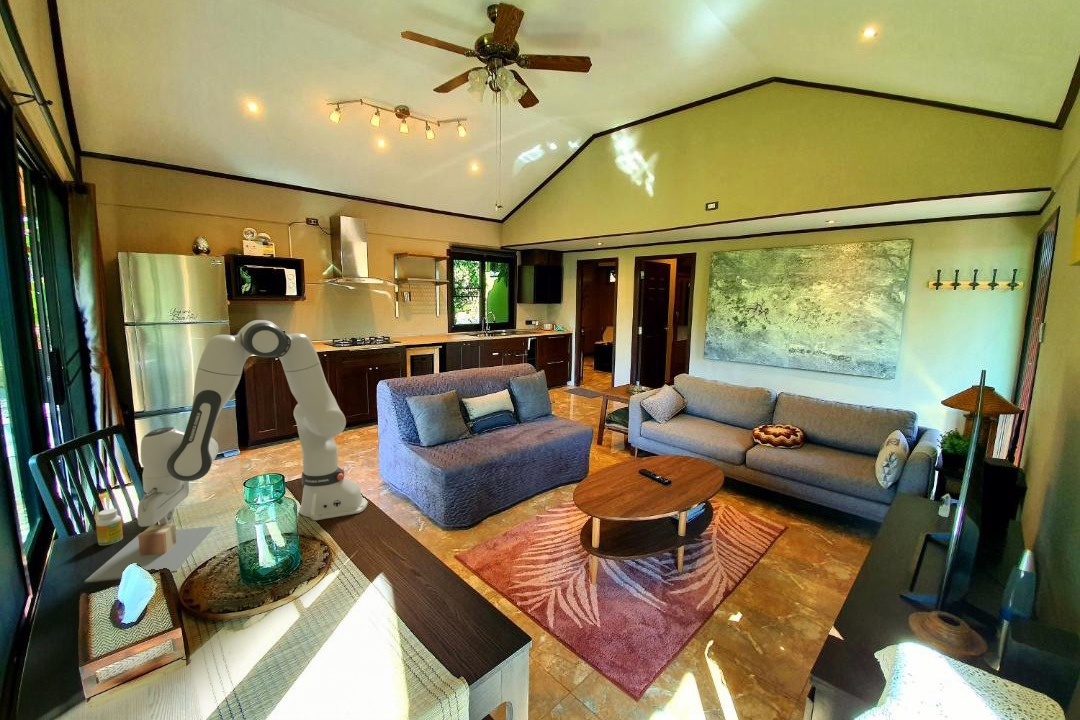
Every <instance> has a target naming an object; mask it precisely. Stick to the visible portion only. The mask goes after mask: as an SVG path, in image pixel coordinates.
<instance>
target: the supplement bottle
mask: <svg viewBox="0 0 1080 720" xmlns="http://www.w3.org/2000/svg"><path fill="white" fill-rule="evenodd" d="M95 523H96V524H95V528H96V536H97V544H98V545H99V546H108V545H112V544H116V543H118V542H119V541H122V540H123V538H124V534H123V524H122V523H123V522H122V516H120V515H118V509H117V508H105V509H103V510H101V511H99V512H98V520H96V522H95Z"/></svg>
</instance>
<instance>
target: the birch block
mask: <svg viewBox="0 0 1080 720" xmlns="http://www.w3.org/2000/svg"><path fill="white" fill-rule="evenodd" d="M175 530H176V523H171V524H161V525H160V524H155V525H153V526H147V528H146V529H145V530H143V532H140V533H141V534H140V533H139V534H140V535H139V534H138V535H139V536H138V535H137V536H138V539H139V550H140V555H152V554H163V553H166V552H167V551H168V550H169V549H170V548H171V547H172V546H173V545H174V544H175V543H176V531H175Z"/></svg>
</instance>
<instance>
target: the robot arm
mask: <svg viewBox="0 0 1080 720" xmlns="http://www.w3.org/2000/svg"><path fill="white" fill-rule="evenodd" d="M253 355H254V356H255V357H261V358H278V359H279V361H280V362H281V366H282V369H283V372H284V375H285V377H286V380H287V381H286V382H287V383H288V387H289V390H290V392H291V394H292V396H293V397H294V398H295V400H296V402H297V404H296V405H295V407H294V409H293V417H294V420H295V422H296V423H295V424H296V428H297V433H298V436H299V442H300V445H301V446H300V447H301V453H302V454H301V455H302V470H303V471H302V473H301V485H302V487H301V488H302V498H301V503H300V508H299V510H298V512H299V514H300V515H302V516H304V517H308V518H310V519H311V520H313V521H319V520H325V519H332V518H337V517H344V516H350V515H354V514H360V513H362V512H363V511H364V510H366V508H367V506H368V504H369V498H368V496H367V495H366V494H365V493H362V491H361V488H360V486H359V484H358V483H356V482H355V481H353V480H351V479H349V478H347V477H345V467H342V468H341V467H339V463H338V462H339V461H338V458H339V457H338V456H339V455H338V446H337V443H336V441H335V438H334V437H336V436H339V435H340V434H342V433H343V431H344V430H345V428H346V425H347V419H346V417H345V414H344V412H343V411H342V410H341V408H340V406H339V405H338V402H337V399H336V398H335V396H334V394H333V393H332V391H331V388H330V386H329V385H328V382H327V380H326V377H325V374H324V370H323V367H322V364H321V361H320V358H319V355H318V352H317V350H316V348H315V346H314V345H313V342H312V341H311V338H310V337H309V336H308V335H306V334H304V333H300V332H297V333H296V332H293V333H290V334H287V333H286V332H284V331H283V330H282V329H281V328H280V327H279V326H278V325H276V324H275V323H274V322H272V321H270V320H267V319H264V318H255V319H251V320H249V321H247V322H245V323H244V324H243V325H242V326H241V327H240V328H239V329H237V330H236V331H235V332H234V333H233V335H231V334H218V335H214V336H212V337H210V339H209V340H208V342H207V344H206V345H205V348H204V350H203V352H202V354H201V357H200V360H199V362H198V366H197V368H196V373H195V374H196V375H195V379H194V386H193V387H194V388H193V396H192V405H191V411H190V413H189V417H188V421H187V424H186V428H185V430H184V431H182V430H179V429H177V428H176V427H173V426H165V427H160V428H157V429H154V430H152V431H149V432H147V433H146V434H145V435H144V436H143V437H142V439H141V443H140V462H141V464H142V466H143V470H142V486H143V487H142V489H143V492H144V493H145V494H144V495H142V496H143V497H142V499H141V500H140V501H139V502H138V505H137V525H138V526H139V527H142V528H143V527H144V528H145V527H150V526H153V525H157V523H159V525H161V524H173V517H174V512H175V508H176V507H177V506H179V504H181V503H182V502H183V501H184V500H186V499H187V497H188V495H189V493H190V482H194V481H197V480H201V478H203V477H205V476H206V475H208V473H209V472H210V470H211V468H212V465H213V463H214V461H215V459H216V457H217V455H218V453H219V450H220V445H219V443H218V441H217V440H216V439H215V437H213V436H212V435H213V433H214V429H215V425H216V422H217V419H218V417H219V415H220V413H221V411H222V410H223V408H224V407H225V406H226V404H227V403H228V402H229V401H230V399H231V398H232V396H233V395H234V393H235V391H236V390H237V388H238V385H239V384H240V380H241V377H242V374H243V370H244V365H245V364H246V362H247V360H248V358H250V357H251V356H253ZM361 494H362V495H363V496H364V497H366V498H367V499H368V501H367V500H366V499H365V498H363V497H362V495H361Z"/></svg>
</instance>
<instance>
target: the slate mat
mask: <svg viewBox="0 0 1080 720" xmlns="http://www.w3.org/2000/svg"><path fill="white" fill-rule="evenodd" d="M215 528H216V526H204V527H193V528H192V527H191V528H182V529H181V528H180V529H175V531H176V543H175V544H174V545H173V546H172V547H171V548H170V549H169V550H168V551H167V552H166V553H163V554H152V555H140V550H139V539H138V536H139V535H140V534H141V533H142V532H140V533H139V534H138V535H136V536H135V537H134V538H133V539H132V540H131V541H130V542H128V543H127V544H126V545H124V547H123V548H121V549H120V550H119V551H118V552H117V553H116V554H114V555H112V557H110V559H108V560H107V561H106V562H105V563H104V564H103V565H101V566H100V567H99V568H98V569H97V570H95V571H94V572H93V573H92V574H91V575H89V577H87V578H86V579H85V580H84V583H91V582H92V583H93V582H94V583H95V582H101V581H103V582H104V581H109V580H118V579H119V580H120V579H122V578H121V576H122V572H123V570H124V569H125V568H126V567H127V566H128V565H129V564H131V563H137V564H138V565H140V566H141V567H142V568H144V569H146V570H151V569H155V570H159V569H163V568H167V569H169V570H170V572H171V573H170V574H172V573H173V574H174V573H177V572H178V569H179V568H180V567H181V566H182V565H183V564H184V563H185V561H187V559H188V558H189V557H190V556H191V555H192V553H194V551H195V550H197V548H198V547H199V546H200V545H201V544H202V542H203V541H204V540H205V538H207V537H208V535H209V534H210V533H211V532H212V531H213V529H215Z"/></svg>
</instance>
